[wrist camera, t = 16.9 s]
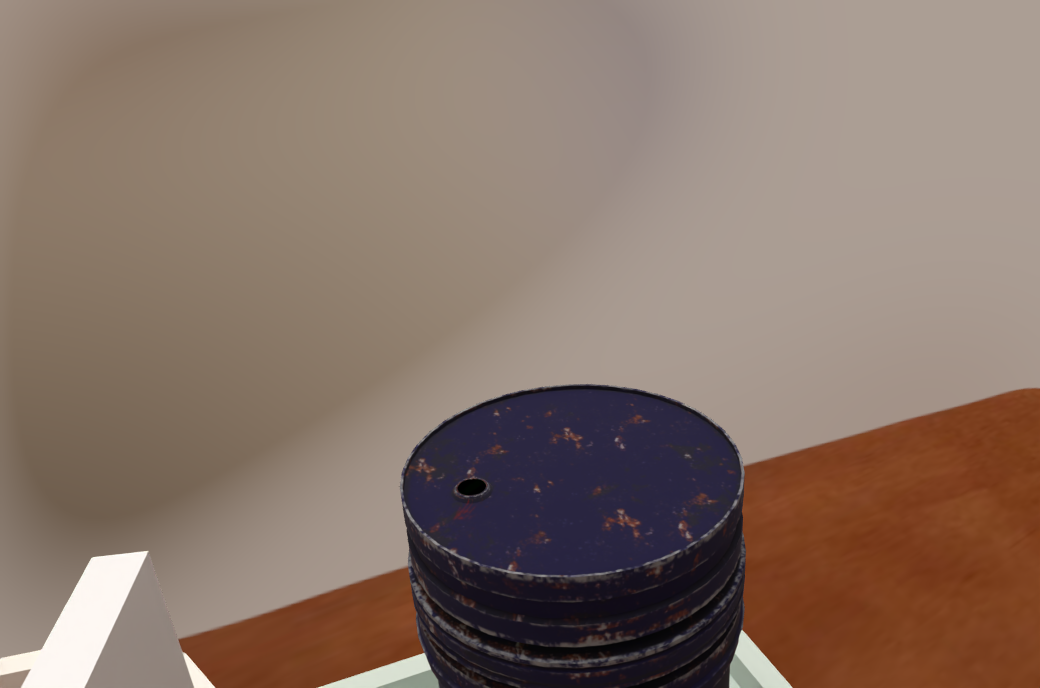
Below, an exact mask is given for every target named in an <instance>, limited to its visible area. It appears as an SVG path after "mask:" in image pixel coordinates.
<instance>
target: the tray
mask: <svg viewBox="0 0 1040 688" xmlns="http://www.w3.org/2000/svg"><path fill="white" fill-rule="evenodd" d="M319 688H439V684H438V679H437V678H436V676H435V675H434V673H433V672H432V670H431V668H430V665H429V663H428V660H427V658H426V655H425V653H423V654H420V655H417V656H414V657H411V658H408V659H405V660H402V661H399V662H396V663H393V664H389V665H386V666H383V667H380V668H377V669H374V670H371V671H368V672H365V673H362V674H359V675H356V676H353V677H349V678H346V679H343V680H340V681H337V682H334V683H331V684H328V685H325V686H322V687H319ZM729 688H792V687H791V685H790V684H789V683H788V682H787V681H786V680H785V679H784V677H783V676H782V675H781V674H780V673H779V672H778V670H777V669H776V668H775V667H774V666H773V665H772V664H771V662H770V661H769V660H768V659H767V658H766V657H765V656H764V654H763V653H762V652H761V651H760V650H759V649H758V648H757V646H756V645H755V644H754V643H753V642H752V641H751V639H750V638H749V637H748V636H747V635H746V634H745V633H744V631H743V630H741V633H740V636H739V642H738V645H737V648H736V651H735V654H734V657H733V660H732V662H731V664H730V684H729Z"/></svg>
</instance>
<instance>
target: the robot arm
mask: <svg viewBox="0 0 1040 688" xmlns="http://www.w3.org/2000/svg"><path fill="white" fill-rule="evenodd" d="M21 688H194V686H193V683H192V680H191V677H190V674H189V671H188V668H187V665H186V662H185V659H184V656H183V653H182V650H181V647H180V644H179V641H178V638H177V635H176V632H175V629H174V626H173V623H172V620H171V617H170V614H169V611H168V608H167V605H166V602H165V599H164V596H163V593H162V591H161V587H160V584H159V581H158V579H157V575H156V573H155V569H154V566H153V564H152V561H151V558H150V555H149V552H148V551H145V552H136V553H127V554H118V555H110V556H100V557H92V559H91V560H90V562H89V564H88V566H87V568H86V569H85V571H84V573H83V575H82V577H81V579H80V581H79V582H78V584H77V586H76V588H75V590H74V592H73V593H72V595H71V597H70V599H69V601H68V602H67V604H66V606H65V608H64V610H63V612H62V613H61V615H60V617H59V619H58V621H57V623H56V625H55V626H54V628H53V630H52V632H51V633H50V635H49V637H48V639H47V641H46V643H45V645H44V646H43V648H42V650H41V652H40V654H39V655H38V657H37V659H36V661H35V663H34V665H33V666H32V668H31V670H30V672H29V674H28V675H27V677H26V679H25V681H24V683H23V685H22V686H21Z"/></svg>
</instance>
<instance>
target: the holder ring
mask: <svg viewBox="0 0 1040 688" xmlns="http://www.w3.org/2000/svg"><path fill="white" fill-rule="evenodd" d="M40 652H41V650H39V651H34V652H29V653H24V654H19V655H15V656H9V657H5V658H1V660H0V688H21V686H22V685H23V683H24V681H25V679H26V677H27V675H28V674H29V672H30V670H31V668H32V666H33V665H34V663H35V661H36V659H37V657H38V655H39V654H40ZM182 653H183V652H182ZM183 656H184V659H185V662H186V665H187V668H188V671H189V674H190V677H191V680H192V683H193V686H194V688H215V687H214V686H213V685H212V684H211V682H210V681H209V680H208V679H207V678H206V677H205V675H204V674H203V673H202V672H201V671H200V670H199V668H198V667H197V666H196V665H195V664H194V663H193V661H192V660H191V659H190V658H189V657H188V656H187V655H186V653H183Z"/></svg>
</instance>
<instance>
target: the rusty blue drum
mask: <svg viewBox="0 0 1040 688" xmlns="http://www.w3.org/2000/svg"><path fill="white" fill-rule="evenodd" d="M400 491H401V498H402V504H403V511H404V518H405V524H406V527H407V536H408V542H409V557H408V568H409V575H410V582H411V588H412V594H413V600H414V607H415V609H416V612H417V613H416V623H417V631H418V637H419V640H420V643H421V645H422V648H423V650H424V653H425V655H426V658H427V660H428V663H429V665H430V668H431V670H432V672H433V673H434V675H435V676H436V678H437V679H438V684H439V688H729V684H730V664H731V662H732V660H733V657H734V654H735V651H736V648H737V645H738V642H739V636H740V633H741V630H742V628H743V619H744V601H743V591H744V581H745V555H746V549H745V542H744V536H743V532H742V528H743V515H742V506H743V497H744V468H743V462H742V457H741V455H740V453H739V451H738V449H737V447H736V445H735V443H734V442H733V441H732V439H731V438H730V437H729V435H728V434H727V433H726V432H725V430H723V429H722V428H721V427H720V426H719V425H718V424H716V423H715V422H714V421H713V420H712V419H710V418H709V417H707V416H706V415H704V414H702V413H701V412H699V411H698V410H696V409H694V408H692V407H690V406H687V405H685V404H683V403H681V402H679V401H677V400H674V399H671V398H668V397H665V396H662V395H658V394H655V393H650V392H646V391H642V390H638V389H632V388H625V387H618V386H609V385H593V384H580V385H558V386H547V387H540V388H534V389H528V390H522V391H518V392H514V393H510V394H506V395H502V396H499V397H496V398H493V399H490V400H487V401H484V402H481V403H478V404H476V405H474V406H472V407H469V408H467V409H465V410H463V411H461V412H459V413H457V414H455V415H454V416H452V417H450V418H448V419H447V420H445V421H444V422H442V423H441V424H440V425H438V426H437V427H435V428H434V429H433V430H432V431H430V432H429V433H428V434H427V435H426V436H425V437H424V438H423V439H422V440H421V441H420V442H419V443H418V444H417V445H416V447H415V448H414V450H413V451H412V453H411V454H410V456H409V457H408V459H407V461H406V464H405V466H404V468H403V471H402V476H401V483H400Z"/></svg>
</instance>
